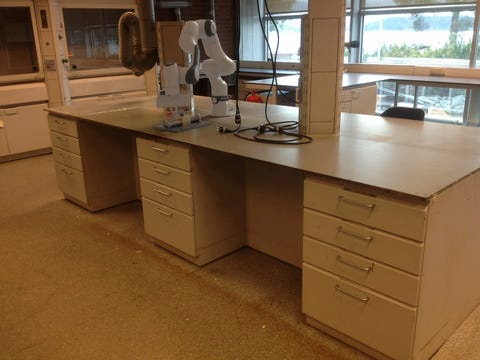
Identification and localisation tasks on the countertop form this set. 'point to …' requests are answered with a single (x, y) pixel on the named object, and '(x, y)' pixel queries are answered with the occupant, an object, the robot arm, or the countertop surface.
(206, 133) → the countertop surface
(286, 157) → the countertop surface
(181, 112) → the lever
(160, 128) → the valve assembly
